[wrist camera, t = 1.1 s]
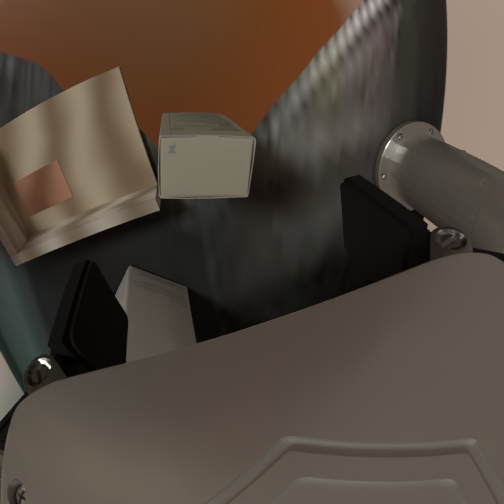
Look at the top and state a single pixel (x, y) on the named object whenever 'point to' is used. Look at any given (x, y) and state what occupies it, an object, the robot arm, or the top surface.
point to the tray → (73, 169)
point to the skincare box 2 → (203, 157)
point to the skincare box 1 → (154, 314)
